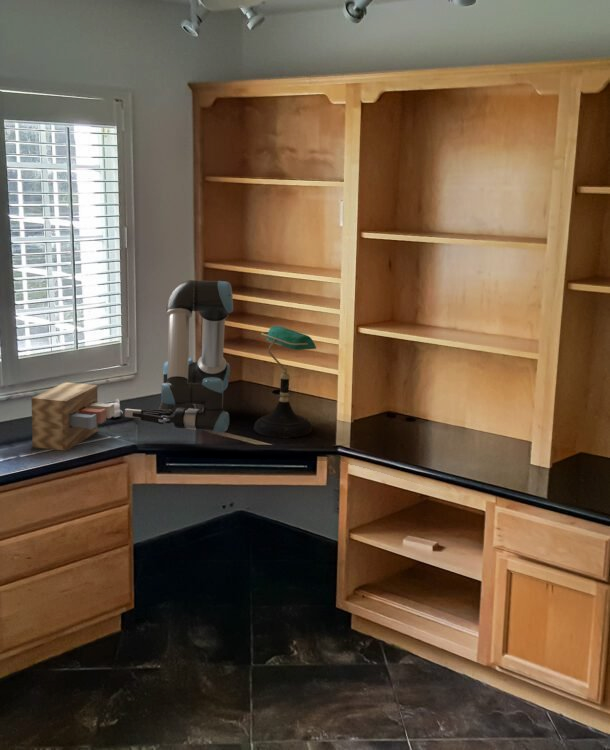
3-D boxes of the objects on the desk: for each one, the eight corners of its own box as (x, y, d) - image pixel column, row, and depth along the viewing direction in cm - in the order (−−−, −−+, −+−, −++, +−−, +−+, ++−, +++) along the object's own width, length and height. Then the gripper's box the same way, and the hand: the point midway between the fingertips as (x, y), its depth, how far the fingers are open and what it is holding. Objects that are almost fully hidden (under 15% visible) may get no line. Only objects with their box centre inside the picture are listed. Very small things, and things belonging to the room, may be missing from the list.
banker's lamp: (325, 435, 342) (330, 334, 333) (273, 442, 330) (277, 337, 321) (291, 418, 364) (295, 323, 355) (241, 424, 352) (244, 326, 343)
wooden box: (97, 431, 334) (97, 385, 330) (66, 450, 309) (65, 401, 305) (65, 427, 336) (65, 382, 332) (32, 447, 311) (31, 397, 308)
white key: (114, 415, 328) (114, 403, 327) (109, 418, 324) (109, 406, 323) (84, 412, 330) (84, 400, 329) (79, 415, 326) (79, 403, 325)
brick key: (105, 420, 321) (105, 408, 320) (100, 423, 316) (100, 411, 315) (75, 417, 323) (74, 405, 322) (69, 420, 318) (69, 408, 318)
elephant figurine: (112, 421, 348) (112, 404, 346) (96, 417, 353) (96, 399, 352) (127, 418, 354) (127, 401, 352) (111, 413, 359) (111, 396, 358)
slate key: (96, 426, 313) (96, 414, 312) (91, 429, 309) (91, 417, 308) (65, 423, 315) (64, 411, 314) (59, 426, 311) (59, 414, 310)
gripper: (180, 433, 315) (118, 427, 319) (192, 423, 327) (132, 418, 331) (181, 412, 313) (118, 407, 317) (192, 404, 326) (132, 398, 330)
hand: (125, 412), depth 324 cm, fingers closed
